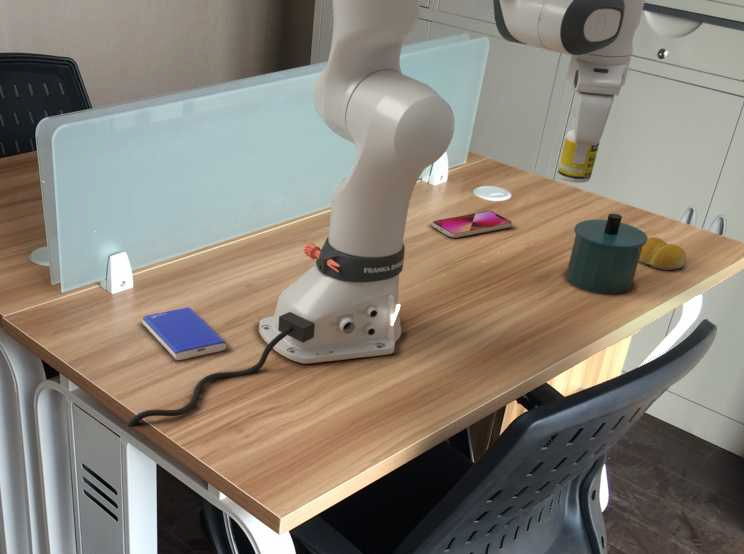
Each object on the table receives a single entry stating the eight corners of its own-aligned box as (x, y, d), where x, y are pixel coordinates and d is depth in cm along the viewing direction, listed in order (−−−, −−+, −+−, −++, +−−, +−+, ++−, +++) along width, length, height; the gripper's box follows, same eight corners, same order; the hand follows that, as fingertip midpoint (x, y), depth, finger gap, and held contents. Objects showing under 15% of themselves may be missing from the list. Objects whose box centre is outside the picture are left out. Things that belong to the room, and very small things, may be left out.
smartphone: (430, 221, 186) (490, 210, 192) (429, 226, 187) (489, 214, 192) (453, 234, 181) (514, 223, 186) (452, 239, 181) (513, 227, 187)
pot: (598, 298, 162) (610, 251, 157) (553, 273, 170) (563, 228, 165) (644, 287, 166) (657, 242, 161) (598, 263, 174) (609, 219, 169)
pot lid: (609, 256, 157) (616, 233, 154) (558, 231, 165) (563, 208, 163) (661, 246, 162) (667, 223, 159) (608, 221, 170) (614, 199, 168)
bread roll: (670, 275, 171) (676, 254, 169) (625, 258, 177) (631, 238, 174) (692, 264, 176) (699, 243, 173) (648, 248, 181) (654, 228, 179)
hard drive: (142, 316, 146) (176, 351, 137) (190, 306, 149) (226, 340, 140) (142, 325, 147) (176, 361, 138) (190, 315, 150) (226, 350, 141)
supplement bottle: (588, 185, 156) (602, 125, 151) (554, 180, 158) (567, 120, 152) (592, 176, 160) (606, 117, 155) (559, 170, 162) (572, 112, 156)
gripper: (576, 54, 158) (558, 137, 166) (578, 82, 142) (558, 173, 149) (615, 57, 157) (596, 141, 165) (622, 86, 140) (600, 178, 148)
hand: (578, 156), depth 157 cm, fingers closed on supplement bottle, 5 cm apart
